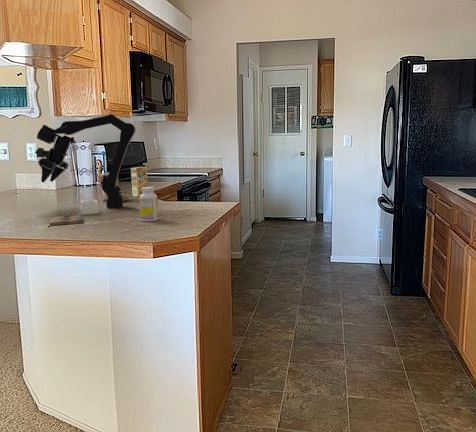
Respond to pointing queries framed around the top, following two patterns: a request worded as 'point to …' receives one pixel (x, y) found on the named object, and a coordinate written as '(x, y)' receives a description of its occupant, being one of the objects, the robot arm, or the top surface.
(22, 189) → the top surface
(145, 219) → the supplement bottle
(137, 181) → the candy box
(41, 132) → the robot arm
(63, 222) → the hub
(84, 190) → the top surface
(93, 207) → the collar
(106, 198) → the stone cup
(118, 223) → the top surface
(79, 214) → the stand
